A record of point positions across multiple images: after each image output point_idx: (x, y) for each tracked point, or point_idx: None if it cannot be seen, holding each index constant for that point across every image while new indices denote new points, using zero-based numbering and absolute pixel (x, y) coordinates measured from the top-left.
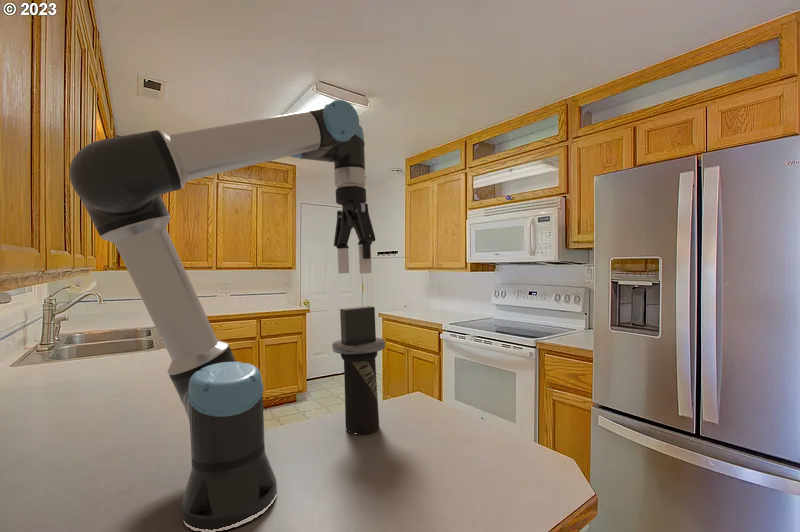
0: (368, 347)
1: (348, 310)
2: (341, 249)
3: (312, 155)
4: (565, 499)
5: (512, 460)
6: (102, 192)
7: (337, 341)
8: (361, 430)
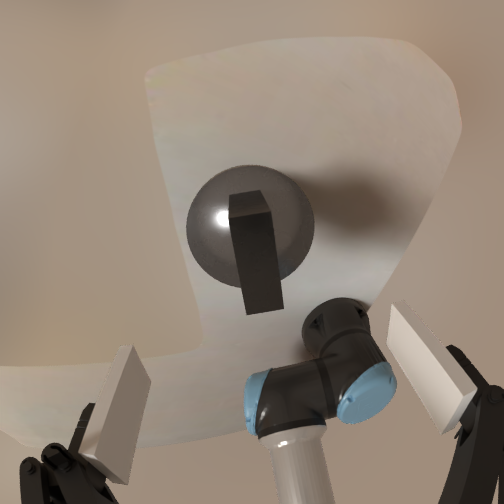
0: (313, 224)
1: (282, 297)
2: (119, 472)
3: None
4: (450, 97)
5: (397, 80)
6: None
7: (214, 272)
8: None
